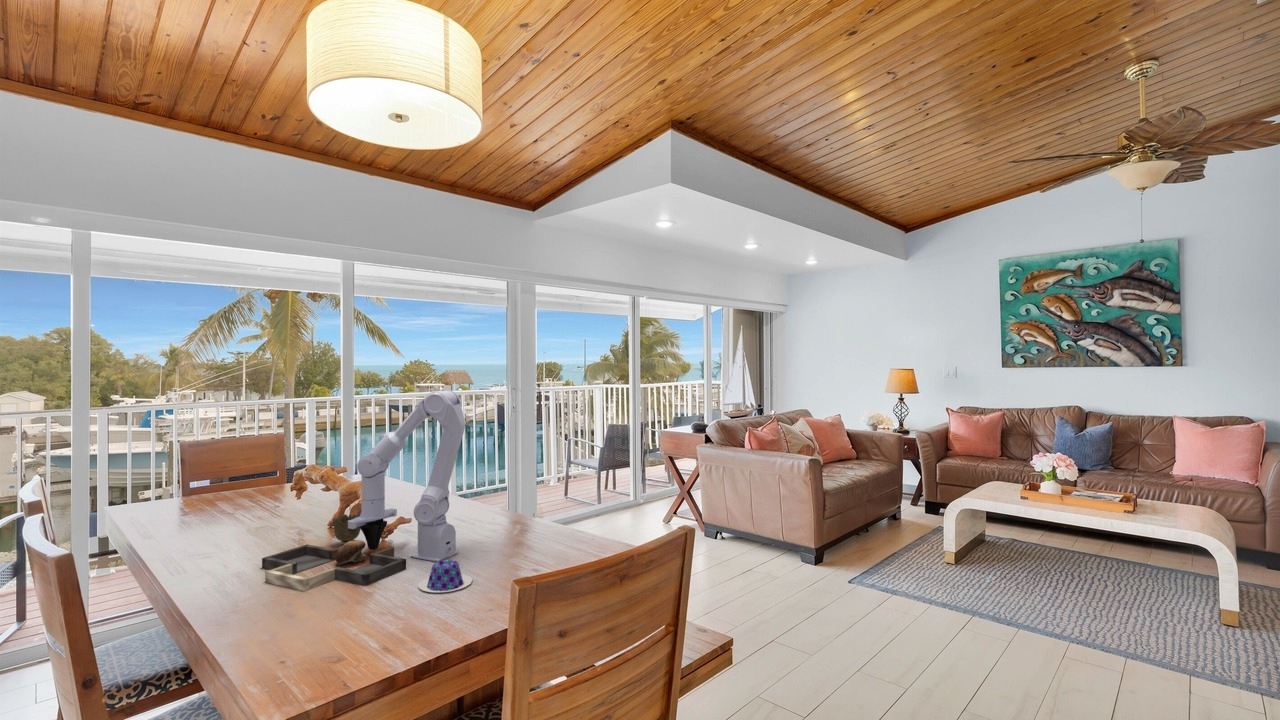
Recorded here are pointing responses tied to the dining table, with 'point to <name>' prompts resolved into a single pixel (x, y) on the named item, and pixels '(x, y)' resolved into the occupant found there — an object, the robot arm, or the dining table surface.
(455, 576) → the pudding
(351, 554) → the mushroom
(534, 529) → the dining table surface
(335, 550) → the grey brown flat frame
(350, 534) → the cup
